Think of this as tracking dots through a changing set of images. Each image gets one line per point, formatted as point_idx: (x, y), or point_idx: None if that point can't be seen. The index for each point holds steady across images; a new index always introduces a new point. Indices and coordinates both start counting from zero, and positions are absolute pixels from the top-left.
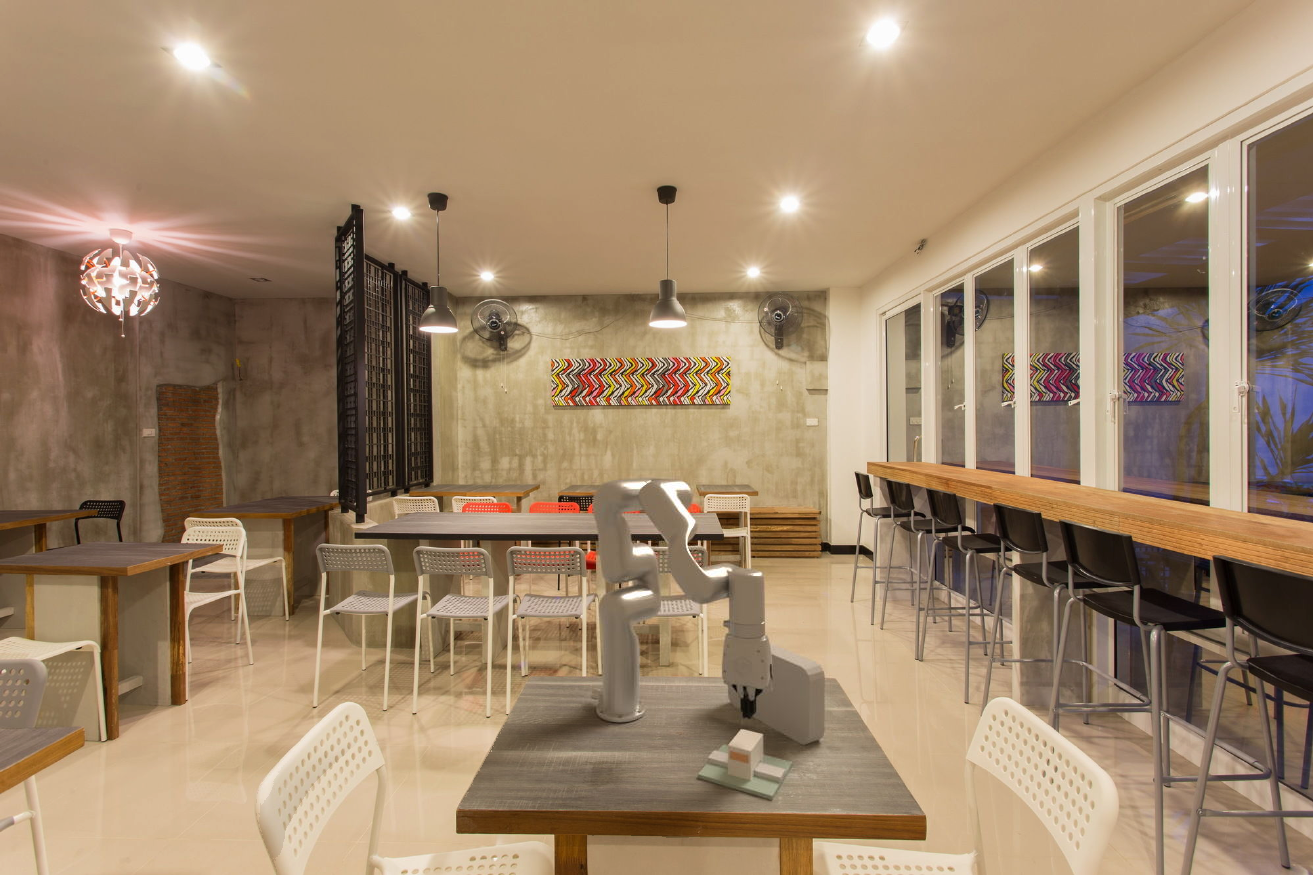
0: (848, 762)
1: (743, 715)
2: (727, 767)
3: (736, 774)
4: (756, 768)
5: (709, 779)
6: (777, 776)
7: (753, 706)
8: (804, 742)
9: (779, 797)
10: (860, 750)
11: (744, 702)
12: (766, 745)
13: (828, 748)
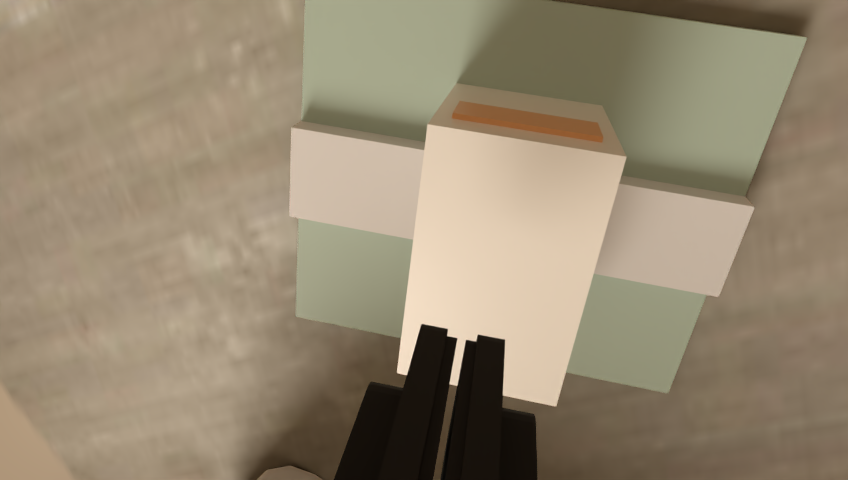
0: (108, 384)
1: (490, 347)
2: None
3: (546, 100)
4: None
5: (715, 24)
6: (308, 131)
7: (352, 437)
8: (288, 472)
9: (288, 9)
10: (98, 468)
11: (462, 465)
12: None
13: (204, 461)
